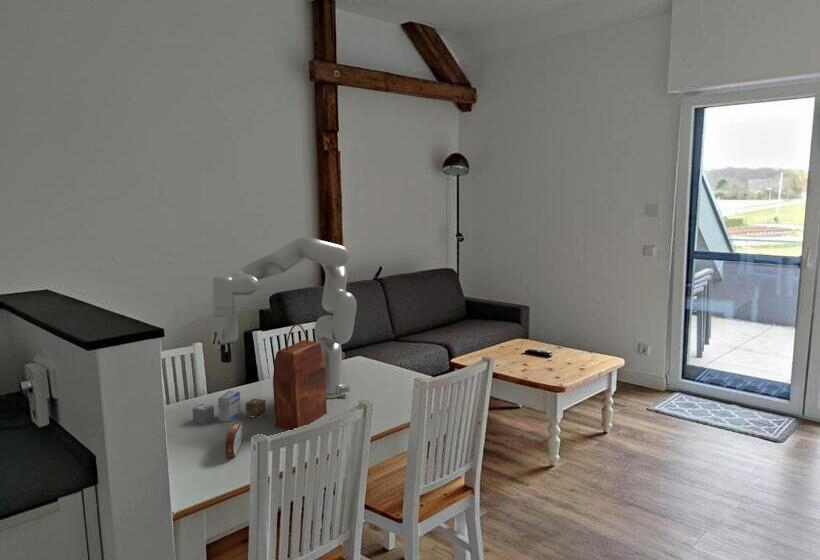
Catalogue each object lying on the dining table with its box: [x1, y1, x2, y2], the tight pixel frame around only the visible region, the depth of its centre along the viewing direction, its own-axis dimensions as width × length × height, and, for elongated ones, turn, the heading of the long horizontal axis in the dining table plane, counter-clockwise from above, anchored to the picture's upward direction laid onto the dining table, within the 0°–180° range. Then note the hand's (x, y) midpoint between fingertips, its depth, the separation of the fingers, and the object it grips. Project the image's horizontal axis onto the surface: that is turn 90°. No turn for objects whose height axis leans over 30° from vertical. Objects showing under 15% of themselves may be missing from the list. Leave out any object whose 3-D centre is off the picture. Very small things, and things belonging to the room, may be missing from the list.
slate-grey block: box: [192, 403, 215, 425], centre depth 208 cm, size 5×5×5 cm
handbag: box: [272, 323, 328, 430], centre depth 206 cm, size 10×19×35 cm, turn 155°
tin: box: [224, 420, 244, 458], centre depth 182 cm, size 15×3×8 cm, turn 5°
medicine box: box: [217, 390, 242, 422], centre depth 210 cm, size 8×4×9 cm, turn 168°
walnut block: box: [245, 398, 267, 418], centre depth 213 cm, size 5×5×5 cm
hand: (226, 361), depth 207 cm, fingers closed
